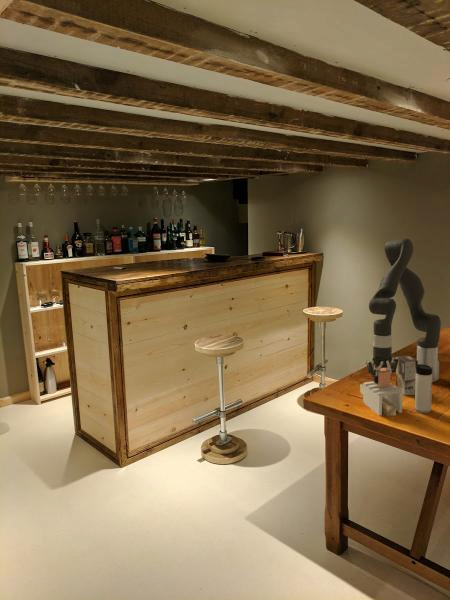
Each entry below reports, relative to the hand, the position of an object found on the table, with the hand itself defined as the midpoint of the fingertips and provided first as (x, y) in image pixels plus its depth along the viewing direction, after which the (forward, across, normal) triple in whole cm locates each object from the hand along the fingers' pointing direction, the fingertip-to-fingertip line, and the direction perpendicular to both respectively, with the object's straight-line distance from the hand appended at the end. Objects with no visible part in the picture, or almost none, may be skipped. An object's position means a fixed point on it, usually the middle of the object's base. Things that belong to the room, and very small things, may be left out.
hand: (382, 382), depth 193 cm
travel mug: (+12, -14, +8) cm, 20 cm away
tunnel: (+11, 0, 0) cm, 11 cm away
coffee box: (+12, -19, -12) cm, 25 cm away
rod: (+12, 0, -4) cm, 12 cm away
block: (+1, 0, 0) cm, 1 cm away
